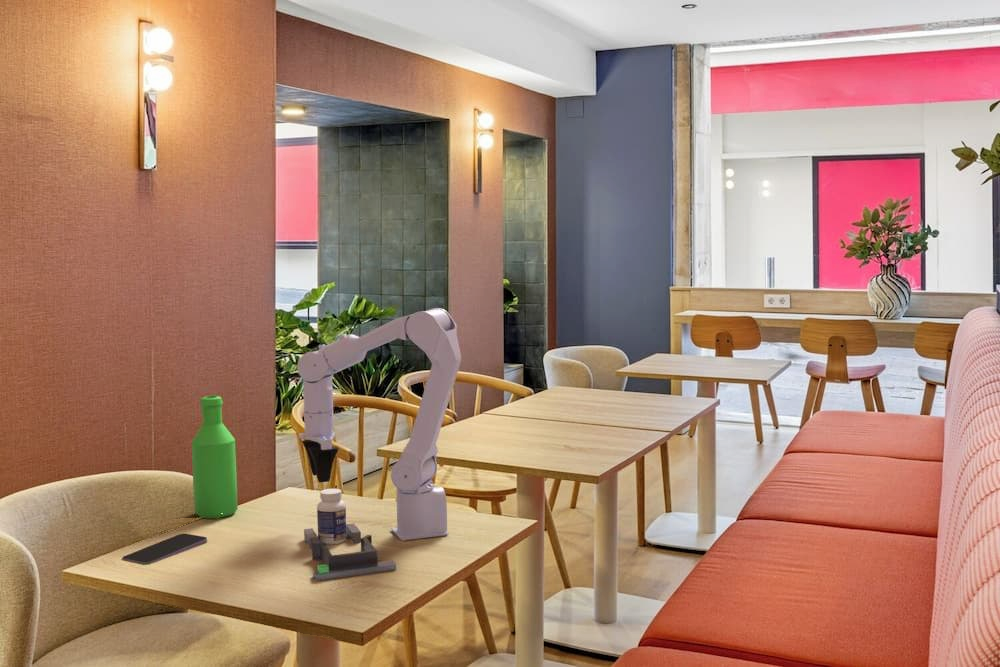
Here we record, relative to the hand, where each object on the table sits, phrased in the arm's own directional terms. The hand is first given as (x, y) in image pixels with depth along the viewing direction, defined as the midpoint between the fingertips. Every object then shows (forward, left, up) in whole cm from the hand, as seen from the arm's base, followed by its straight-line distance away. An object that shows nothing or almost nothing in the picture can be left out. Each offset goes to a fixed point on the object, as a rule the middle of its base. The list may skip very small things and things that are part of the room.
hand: (320, 478), depth 196 cm
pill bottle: (0, +10, -10) cm, 14 cm away
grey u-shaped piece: (0, +10, -10) cm, 14 cm away
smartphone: (+30, +3, -11) cm, 32 cm away
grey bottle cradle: (0, +24, -10) cm, 26 cm away
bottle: (+19, -18, -10) cm, 28 cm away
